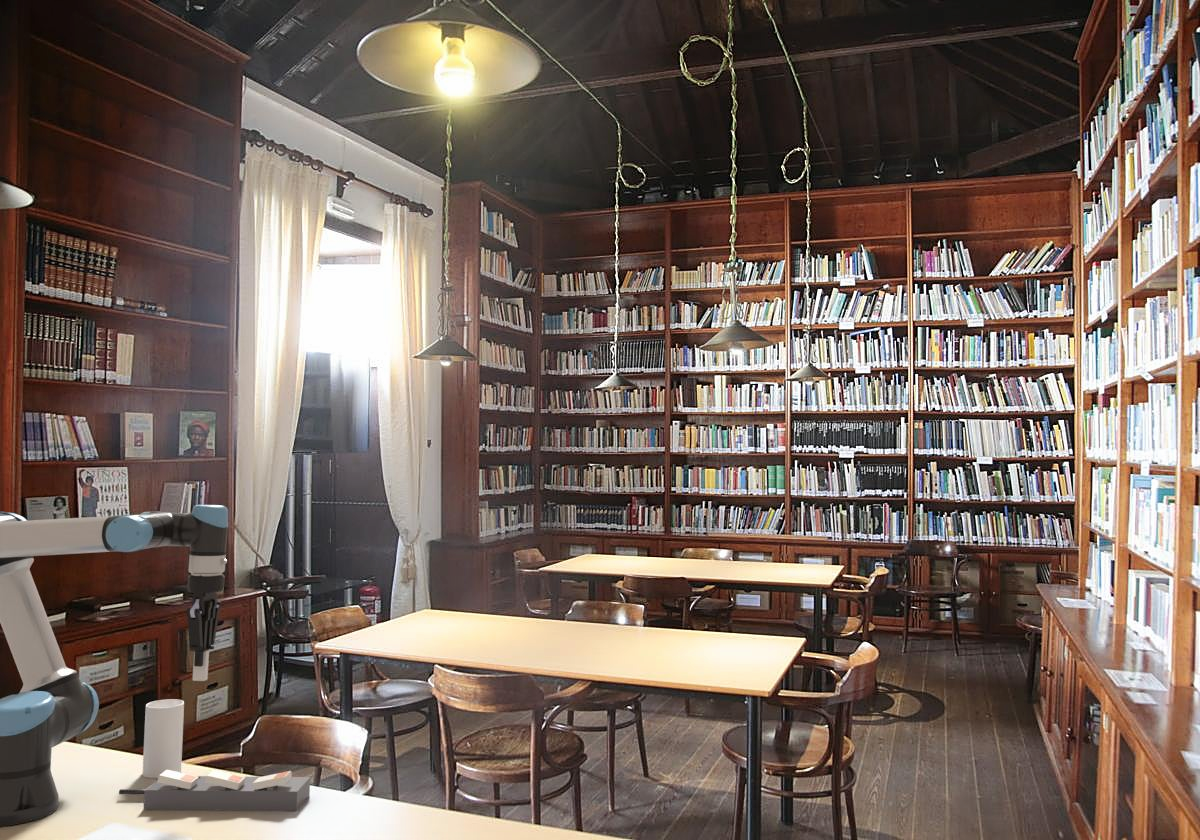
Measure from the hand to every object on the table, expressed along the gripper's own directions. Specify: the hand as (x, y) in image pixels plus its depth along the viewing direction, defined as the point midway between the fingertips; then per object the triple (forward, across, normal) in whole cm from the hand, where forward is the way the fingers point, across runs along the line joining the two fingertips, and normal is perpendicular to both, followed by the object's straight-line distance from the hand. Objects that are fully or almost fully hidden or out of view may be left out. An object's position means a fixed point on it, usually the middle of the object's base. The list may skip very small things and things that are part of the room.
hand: (199, 680), depth 200 cm
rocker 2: (+19, -8, -10) cm, 23 cm away
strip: (+24, -5, -6) cm, 26 cm away
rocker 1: (+19, -8, 0) cm, 21 cm away
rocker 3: (+19, -7, -20) cm, 28 cm away
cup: (+25, +13, +13) cm, 31 cm away
